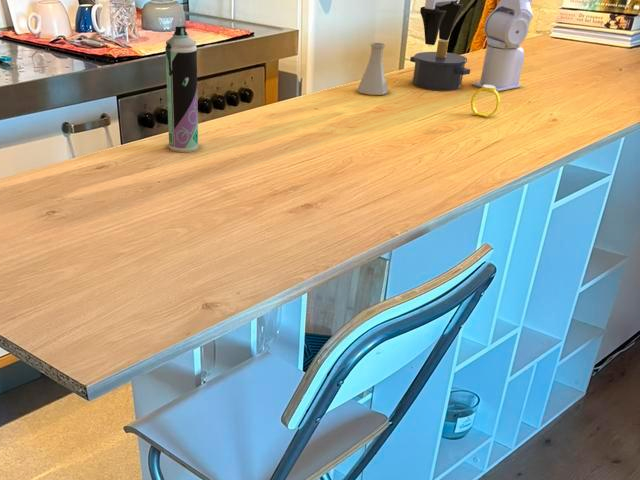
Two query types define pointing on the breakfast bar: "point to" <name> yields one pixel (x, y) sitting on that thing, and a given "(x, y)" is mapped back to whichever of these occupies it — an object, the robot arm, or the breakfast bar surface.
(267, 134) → the breakfast bar surface
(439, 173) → the breakfast bar surface
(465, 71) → the dark grey pot
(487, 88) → the yellow ring
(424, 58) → the lid
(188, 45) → the spray can
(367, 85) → the flask
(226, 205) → the breakfast bar surface
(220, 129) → the breakfast bar surface
